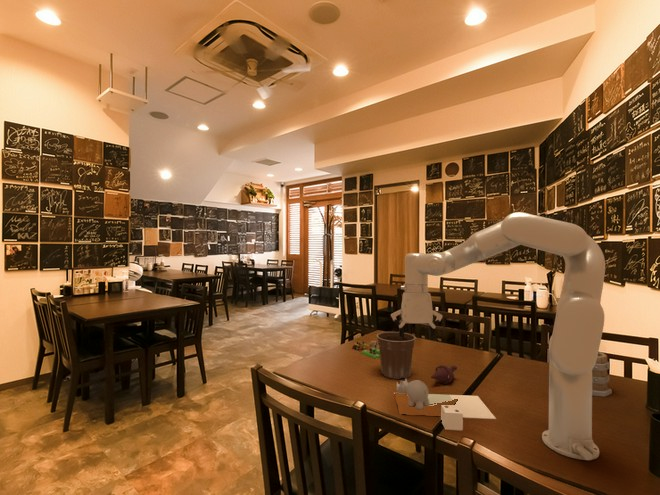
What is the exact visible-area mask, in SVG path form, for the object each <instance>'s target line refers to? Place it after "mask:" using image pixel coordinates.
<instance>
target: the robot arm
mask: <svg viewBox="0 0 660 495" xmlns="http://www.w3.org/2000/svg"><path fill="white" fill-rule="evenodd" d="M521 245H522V246H523V247H528V248H530V249H531V248H532V249H534V250H535V249H536V250H539V251H542V252H546V253H550V254H554V255H556V256H560V257H563V260H564V264H565V267H564V268H565V269H564V274H563V281H562V286H561V292H560V295H559V299H558V301H557V303H556V312H555V319H554V324H553V330H552V335H551V336H550V338H549V340H548V350H549V351H548V355H549V356H548V358H549V360H548V361H549V362H548V366H549V367H548V368H549V369H548V429H547V430H544V431H543V432H542V433H541V439H542V442H543V443H544V444H545V445H546V446H547V447H548V448H549V449H551V451H554V452H556V453H557V454H560V455H562V456H565V457H568V458H572V459H576V460H582V461H592V460H596V459H598V458H599V456H600V449H599V447H598V445H596V444H595V442H594V440H593V429H592V428H593V419H592V418H593V396H592V369H593V367H594V366H595V363H596V360H597V356H598V352H600V351H599V350H600V346H601V340H602V337H603V332H604V326H605V311H604V308H603V306H602V305H601V300H602V294H603V289H604V281H605V275H606V274H605V273H606V260H605V259H606V258H605V255H604V252H603V251H602V249H601V247H600V246H599V244H598V243H597V241H595V239H594V238H593V237H591V236H590V235H589V234H587V232H586V231H585V229H583V228H582V227H581V226H579V225H577V224H575V223H571V222H567V221H563V220H557V219H553V218H549V217H544V216H540V215H536V214H533V213H532V214H531V213H528V212H523V211H516V212H512V213H509V214H508V215H507V216H506V217H504V219H502V220H501V221H499V222H497V223H494V224H492V225H490V226H488V227H486V228H483V229H481V230H479V231H476V232H474V233H472V234H471V235H470V236H469V237H468V238H467V239H466V240H465V241H463V242H461V243H460V244H458V245H455V246H454V247H452V248H449V249H447V250H444V251H442V252H441V251H440V252H431V253H422V252H411V253H409V252H408V253H407V254H406V255H405V257H404V258H405V259H404V267H405V268H404V284H403V285H400V290H403V291H404V292H403V294H402V298H401V308H400V309H399V310H397V311H394V312H393V313H391V314H390V318H392V321H393V322H394V324H396V325H397V327H398V332H399V337H401V339H402V340H403V339H404V333H405V328H404V326H405V324H428V325H429V327H428V339H429V340H430V341H434V338H435V329H436V327H437V326H438V325H439V324H440V322H441V320H442V319H443V315H442V313H440V312H438V311H436V310H433V303H432V300H433V299H432V295H431V293H430V292H429V287H428V286H429V285H428V283H429V280H428V279H429V278H428V277H429V276H435V277H436V276H443V275H448V274H450V273H453V272H455V271H458V270H459V269H462V268H464V267H468V266H469V265H472V264H474V263H477V262H480V261H485V260H487V259H488V258H491V257H494V256H496V255H498V254H502V253H504V252H505V251H508V250H510V249H511V250H512V249H513V248H516V247H518V246H521ZM428 275H429V276H428ZM398 316H400V318H401V319H400V320H398V319H397V317H398ZM434 316H435V317H436V319H434ZM433 320H434V321H433Z"/></svg>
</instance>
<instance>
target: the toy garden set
mask: <svg viewBox="0 0 660 495" xmlns="http://www.w3.org/2000/svg"><path fill="white" fill-rule="evenodd" d="M370 345H371V346H372V347H373V348H372V347H370V348H368V349H369V350H367V349H366V348H367V347H369V346H370ZM353 348H356V350H357V351H359V352H360V354H361V355H363V354H364V356H366V357H368V358H371V357H372V358H371V359H375V360H376V358H377V359H380V349H379V345H378V341H376V340H371V341H370V342H369V344H366V343H365V341H363V342H358V341H356V342H355V343H353V345H352V348H351V349H353Z"/></svg>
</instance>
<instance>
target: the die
mask: <svg viewBox="0 0 660 495" xmlns="http://www.w3.org/2000/svg"><path fill="white" fill-rule="evenodd" d="M441 420H442V422H441V424H442V425H443V428H444V429H445V430H446V431H447V430H449V431H464V430H463V429H464V419H463V413H462V411H461V410H460V408H459V407H458V405H441V417H440V421H441Z"/></svg>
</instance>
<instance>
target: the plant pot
mask: <svg viewBox="0 0 660 495" xmlns="http://www.w3.org/2000/svg"><path fill="white" fill-rule="evenodd" d="M376 338H377V346H378V349H380V358H379V359H380V371H381V372H380V373H381V375H383V376H384V377H385V378H388V379H394V380H401V379H402V378H403V379H406V378H407V379H408V378H410V376H411V372H412V364H413V363H412V362H413V361H412V360H413V351H414V347H415V340H416V338H417V337H416V335H413V334H411V333H408V332H404V339H403V340H402V339H401V337H399V331H385V332H384V331H383V332H379V333H377V334H376Z"/></svg>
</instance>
